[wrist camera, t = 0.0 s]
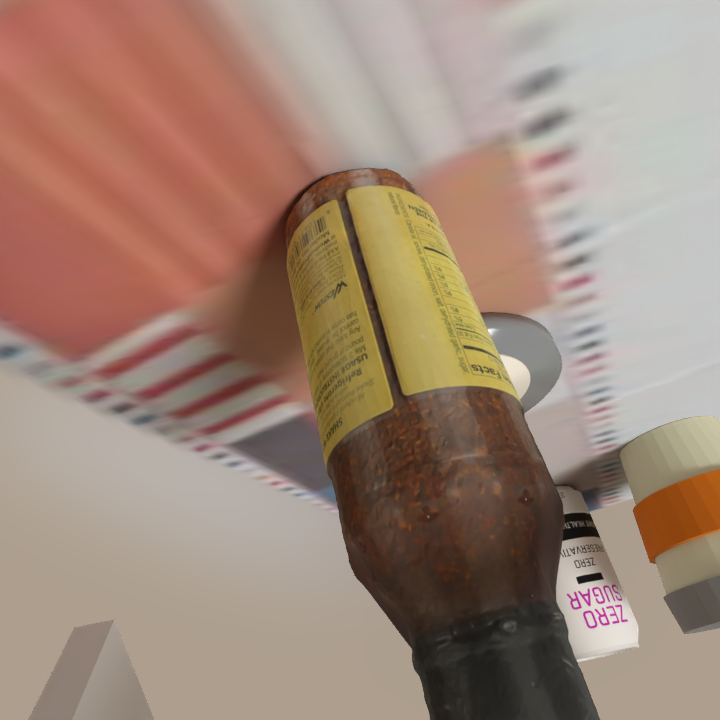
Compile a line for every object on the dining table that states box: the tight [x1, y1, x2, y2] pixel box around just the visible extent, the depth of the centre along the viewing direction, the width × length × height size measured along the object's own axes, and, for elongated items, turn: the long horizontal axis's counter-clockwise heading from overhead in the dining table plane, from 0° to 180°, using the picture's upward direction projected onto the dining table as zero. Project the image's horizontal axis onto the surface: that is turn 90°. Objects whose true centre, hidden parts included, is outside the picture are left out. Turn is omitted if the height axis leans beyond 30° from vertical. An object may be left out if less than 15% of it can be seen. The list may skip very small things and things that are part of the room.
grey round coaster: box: [480, 313, 562, 413], centre depth 34 cm, size 13×13×1 cm
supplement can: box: [556, 486, 639, 662], centre depth 53 cm, size 8×8×15 cm
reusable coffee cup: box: [619, 416, 720, 634], centre depth 46 cm, size 13×13×15 cm
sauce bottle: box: [286, 168, 600, 720], centre depth 17 cm, size 7×6×20 cm
